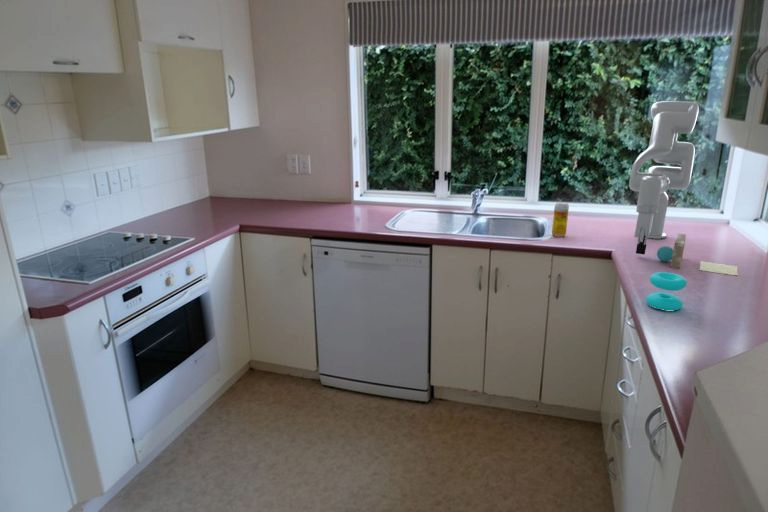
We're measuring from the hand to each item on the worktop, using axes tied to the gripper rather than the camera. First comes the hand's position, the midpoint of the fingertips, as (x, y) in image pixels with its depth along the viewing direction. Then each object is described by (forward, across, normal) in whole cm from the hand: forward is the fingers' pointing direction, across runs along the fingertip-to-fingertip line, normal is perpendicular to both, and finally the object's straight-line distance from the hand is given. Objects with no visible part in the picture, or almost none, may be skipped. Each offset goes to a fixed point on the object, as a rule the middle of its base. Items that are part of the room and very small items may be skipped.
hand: (640, 253), depth 212 cm
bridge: (+2, 0, +13) cm, 13 cm away
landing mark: (+2, 0, +27) cm, 27 cm away
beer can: (+2, -16, -36) cm, 39 cm away
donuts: (+2, +51, +13) cm, 53 cm away
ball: (-2, +1, +9) cm, 9 cm away
